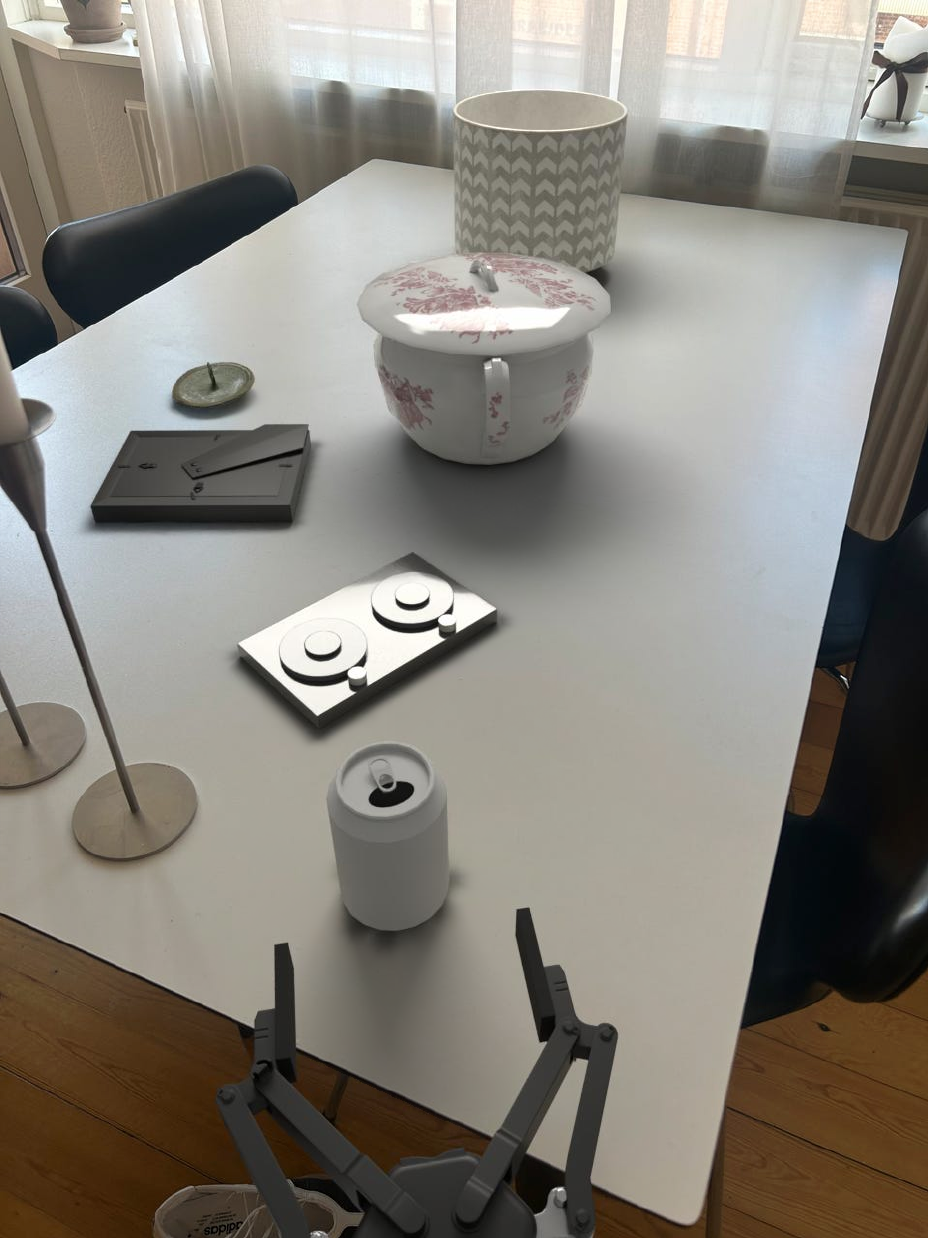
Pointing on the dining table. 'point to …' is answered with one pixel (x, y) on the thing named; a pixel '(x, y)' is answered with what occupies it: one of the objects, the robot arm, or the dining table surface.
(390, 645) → the hob
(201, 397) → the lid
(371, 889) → the can
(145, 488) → the picture frame
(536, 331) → the chamber pot
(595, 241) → the planter
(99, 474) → the dining table surface
